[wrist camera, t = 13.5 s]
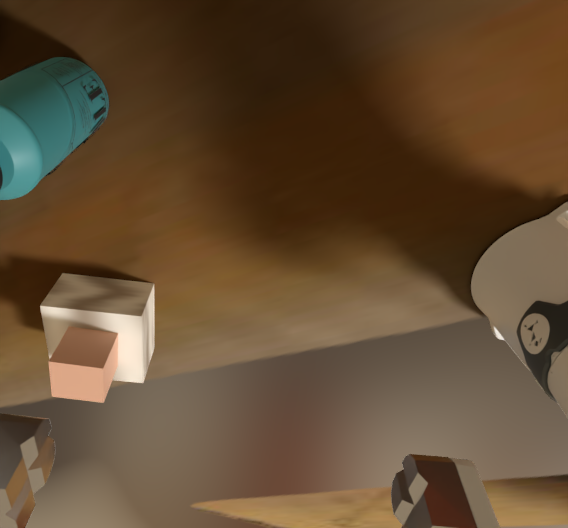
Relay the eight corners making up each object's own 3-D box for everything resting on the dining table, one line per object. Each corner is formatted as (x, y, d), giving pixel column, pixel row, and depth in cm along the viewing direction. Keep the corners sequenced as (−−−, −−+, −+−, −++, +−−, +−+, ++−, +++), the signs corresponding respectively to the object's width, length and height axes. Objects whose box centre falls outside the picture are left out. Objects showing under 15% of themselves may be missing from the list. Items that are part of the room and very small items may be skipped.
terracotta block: (118, 333, 47) (103, 368, 43) (117, 366, 50) (103, 402, 46) (68, 326, 46) (48, 361, 42) (70, 360, 49) (52, 396, 45)
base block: (154, 282, 51) (141, 316, 46) (154, 346, 56) (143, 382, 51) (63, 271, 50) (40, 305, 45) (72, 337, 55) (52, 374, 50)
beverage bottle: (24, 67, 38) (-171, 146, 21) (92, 37, 37) (-60, 96, 20) (69, 139, 41) (-69, 254, 25) (133, 113, 40) (32, 216, 24)
